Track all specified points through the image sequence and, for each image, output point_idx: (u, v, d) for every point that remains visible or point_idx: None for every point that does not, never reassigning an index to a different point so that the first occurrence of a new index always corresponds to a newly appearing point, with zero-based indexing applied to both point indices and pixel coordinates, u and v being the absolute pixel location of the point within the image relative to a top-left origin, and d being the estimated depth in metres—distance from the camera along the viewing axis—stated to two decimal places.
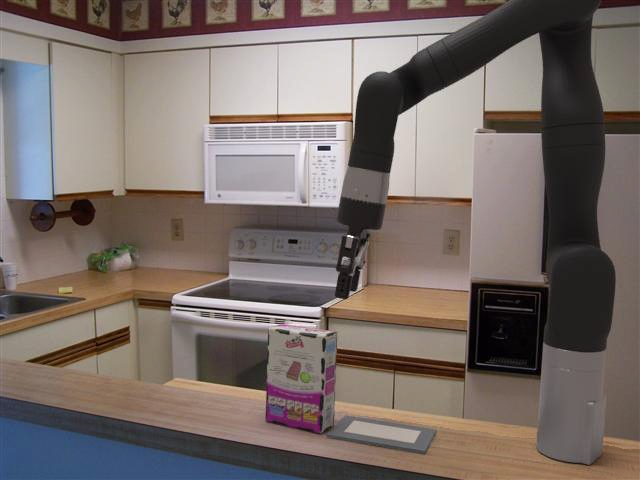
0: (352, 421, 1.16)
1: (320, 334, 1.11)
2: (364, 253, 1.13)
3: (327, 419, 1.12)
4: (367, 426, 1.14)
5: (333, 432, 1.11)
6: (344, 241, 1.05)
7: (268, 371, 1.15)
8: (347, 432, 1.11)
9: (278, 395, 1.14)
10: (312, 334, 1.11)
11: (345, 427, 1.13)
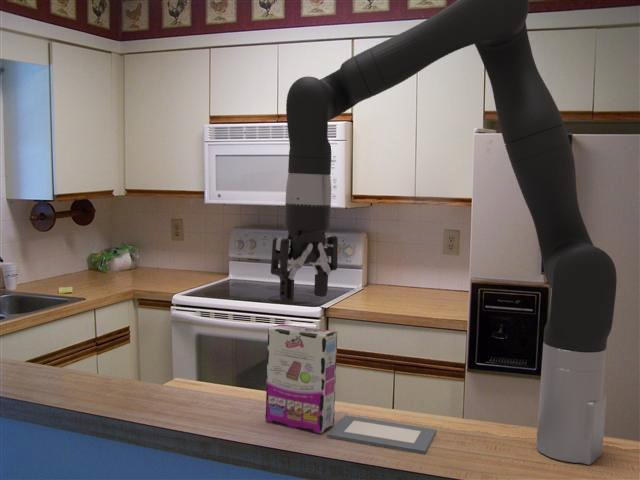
0: (352, 421, 1.16)
1: (320, 334, 1.11)
2: (320, 257, 1.13)
3: (327, 419, 1.12)
4: (367, 426, 1.14)
5: (333, 432, 1.11)
6: (274, 244, 1.08)
7: (268, 371, 1.15)
8: (347, 432, 1.11)
9: (278, 395, 1.14)
10: (312, 334, 1.11)
11: (345, 427, 1.13)
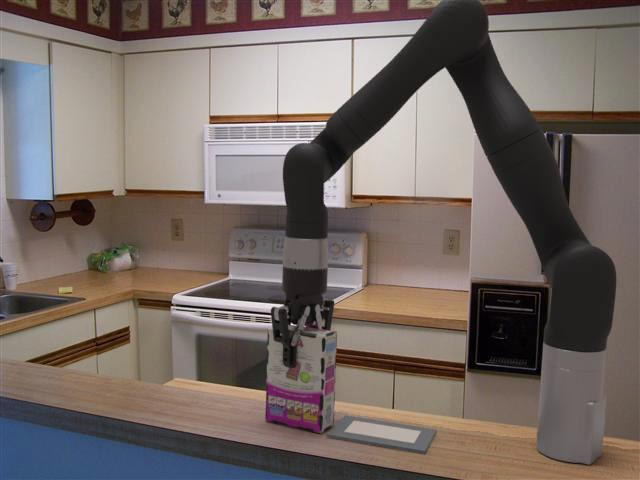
0: (352, 421, 1.16)
1: (320, 334, 1.11)
2: (316, 319, 1.14)
3: (327, 419, 1.12)
4: (367, 426, 1.14)
5: (333, 432, 1.11)
6: (273, 315, 1.09)
7: (268, 370, 1.15)
8: (347, 432, 1.11)
9: (278, 394, 1.14)
10: (312, 334, 1.11)
11: (345, 427, 1.13)
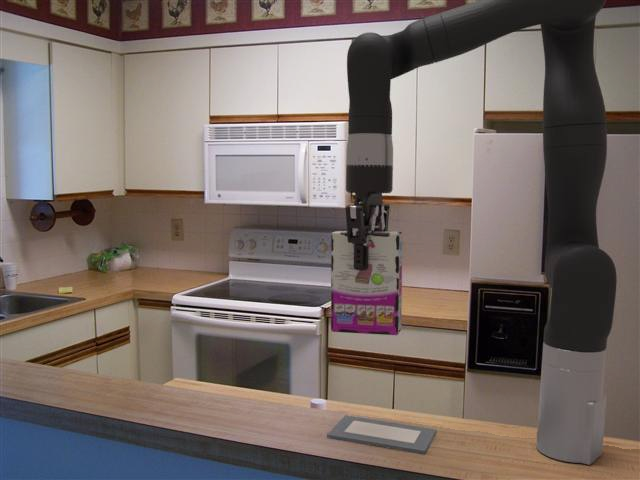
0: (352, 421, 1.16)
1: (392, 232, 1.07)
2: (380, 221, 1.10)
3: (399, 321, 1.09)
4: (367, 426, 1.14)
5: (333, 432, 1.11)
6: (348, 213, 1.04)
7: (333, 278, 1.09)
8: (347, 432, 1.11)
9: (346, 301, 1.09)
10: (384, 233, 1.07)
11: (345, 427, 1.13)
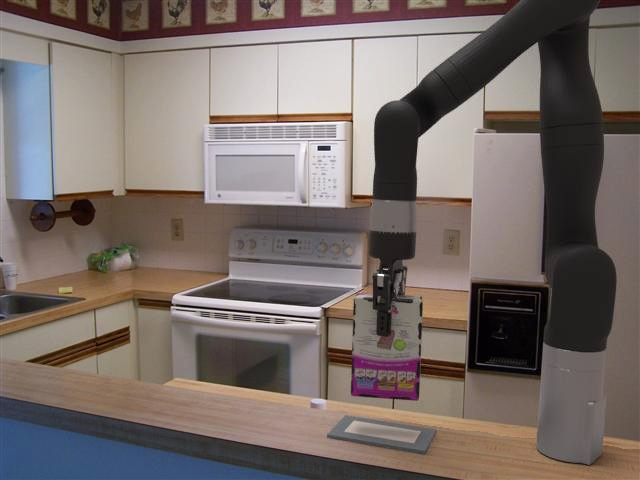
0: (352, 421, 1.16)
1: (415, 299, 1.08)
2: (401, 285, 1.11)
3: None
4: (367, 426, 1.14)
5: (333, 432, 1.11)
6: (375, 281, 1.04)
7: (355, 342, 1.09)
8: (347, 432, 1.11)
9: (367, 366, 1.09)
10: (407, 299, 1.07)
11: (345, 427, 1.13)
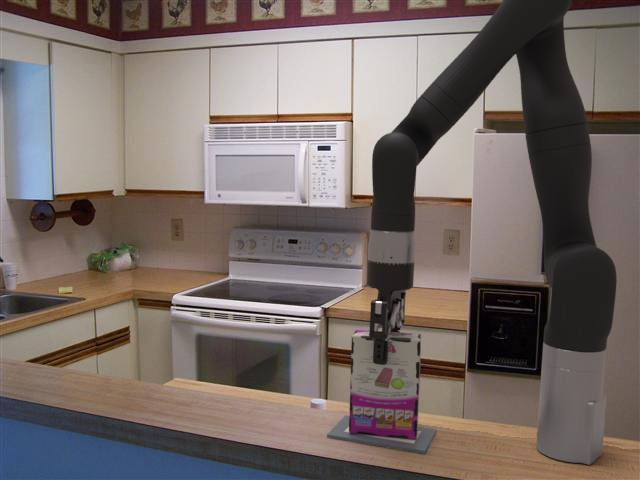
0: None
1: (413, 338, 1.08)
2: (400, 313, 1.11)
3: None
4: None
5: (333, 432, 1.11)
6: (373, 308, 1.04)
7: (353, 380, 1.09)
8: (347, 432, 1.11)
9: (365, 404, 1.09)
10: (405, 338, 1.08)
11: (345, 427, 1.13)
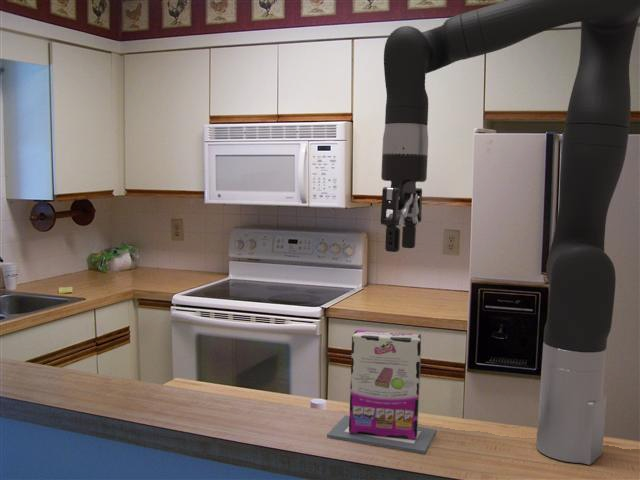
0: None
1: (413, 338, 1.08)
2: (414, 208, 1.15)
3: None
4: None
5: (333, 432, 1.11)
6: (385, 194, 1.08)
7: (353, 380, 1.09)
8: (347, 432, 1.11)
9: (365, 404, 1.09)
10: (405, 338, 1.08)
11: (345, 427, 1.13)
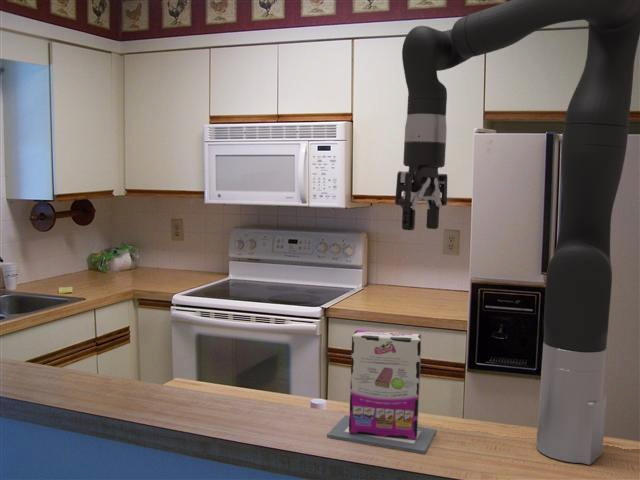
0: None
1: (413, 338, 1.08)
2: (435, 191, 1.25)
3: None
4: None
5: (333, 432, 1.11)
6: (399, 177, 1.20)
7: (353, 380, 1.09)
8: (347, 432, 1.11)
9: (365, 404, 1.09)
10: (405, 338, 1.08)
11: (345, 427, 1.13)
